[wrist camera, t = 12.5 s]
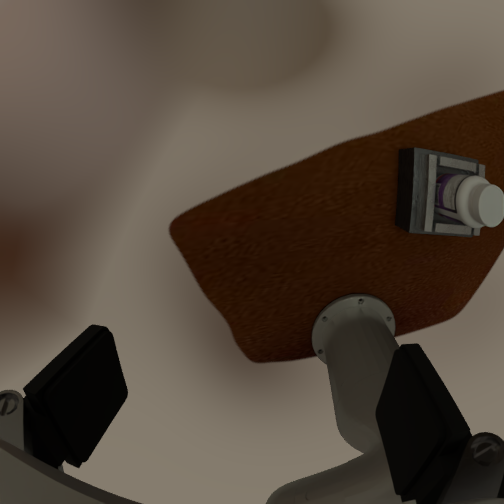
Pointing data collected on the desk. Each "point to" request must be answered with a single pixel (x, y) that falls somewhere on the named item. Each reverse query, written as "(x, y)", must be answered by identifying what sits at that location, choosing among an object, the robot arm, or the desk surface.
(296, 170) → the desk surface
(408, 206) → the grey open box
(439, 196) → the pill bottle
